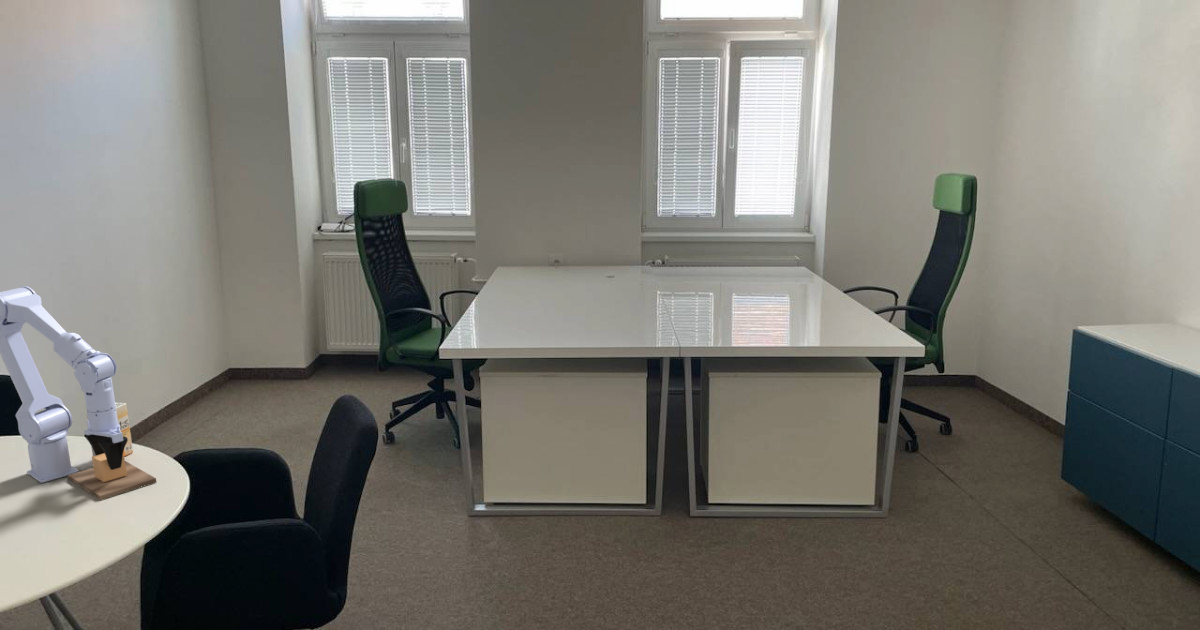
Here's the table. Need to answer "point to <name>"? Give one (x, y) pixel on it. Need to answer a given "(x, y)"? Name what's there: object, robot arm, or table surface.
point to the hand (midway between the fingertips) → (109, 464)
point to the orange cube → (107, 468)
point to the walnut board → (112, 482)
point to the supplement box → (123, 427)
